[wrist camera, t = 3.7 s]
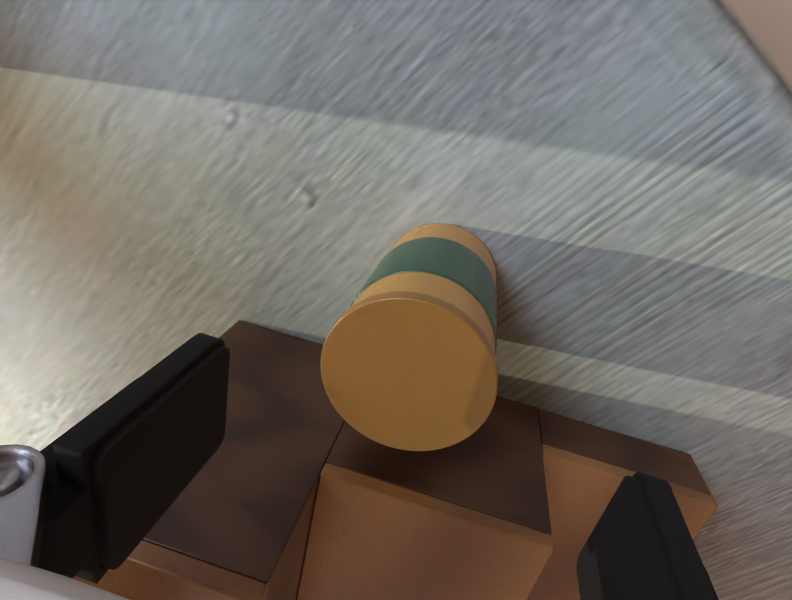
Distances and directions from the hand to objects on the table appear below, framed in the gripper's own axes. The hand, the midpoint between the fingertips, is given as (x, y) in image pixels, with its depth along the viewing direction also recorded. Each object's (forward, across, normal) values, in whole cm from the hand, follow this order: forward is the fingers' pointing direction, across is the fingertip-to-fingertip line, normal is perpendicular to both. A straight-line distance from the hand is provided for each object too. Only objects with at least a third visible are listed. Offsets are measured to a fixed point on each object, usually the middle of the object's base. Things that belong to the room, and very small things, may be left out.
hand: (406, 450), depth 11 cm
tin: (+10, +1, 0) cm, 10 cm away
